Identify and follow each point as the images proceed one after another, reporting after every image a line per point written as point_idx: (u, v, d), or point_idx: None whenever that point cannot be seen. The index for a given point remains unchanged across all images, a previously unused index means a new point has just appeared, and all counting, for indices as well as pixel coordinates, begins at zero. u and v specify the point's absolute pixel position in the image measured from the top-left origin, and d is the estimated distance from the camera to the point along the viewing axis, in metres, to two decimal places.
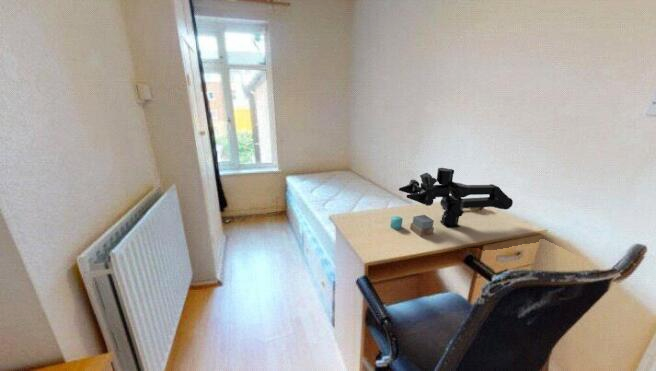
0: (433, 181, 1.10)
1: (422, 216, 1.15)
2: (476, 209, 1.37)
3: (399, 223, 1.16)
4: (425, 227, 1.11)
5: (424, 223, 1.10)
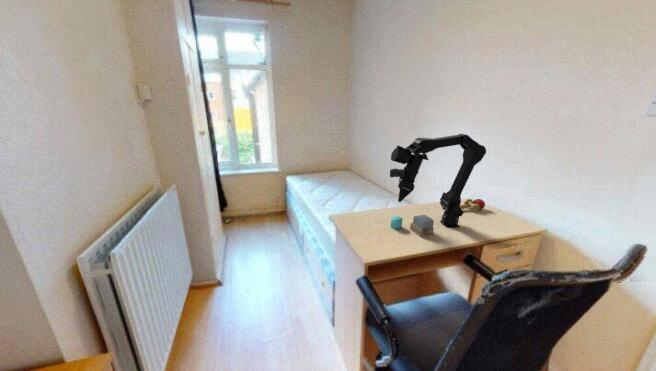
0: (395, 171, 1.09)
1: (423, 215, 1.15)
2: (476, 209, 1.37)
3: (399, 223, 1.16)
4: (425, 227, 1.11)
5: (424, 222, 1.10)
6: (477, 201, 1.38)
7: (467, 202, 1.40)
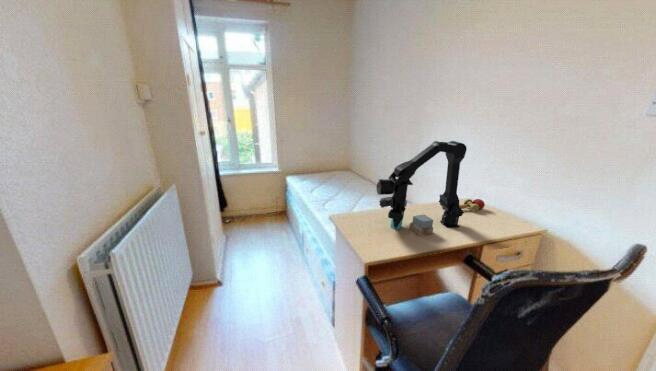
0: (383, 203, 1.13)
1: (422, 215, 1.16)
2: (475, 209, 1.37)
3: (399, 223, 1.16)
4: (425, 226, 1.11)
5: (424, 222, 1.10)
6: (477, 201, 1.38)
7: (467, 202, 1.40)
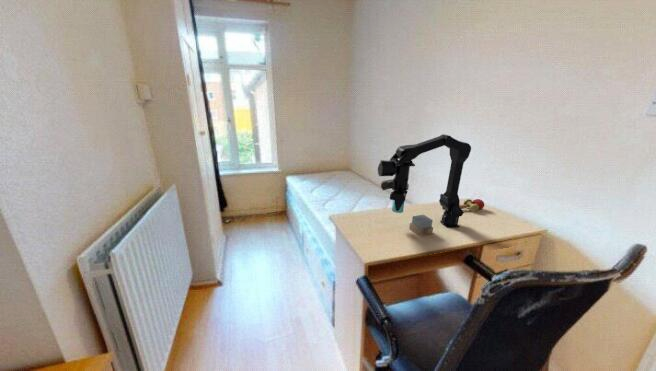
0: (385, 185, 1.10)
1: (421, 215, 1.16)
2: (475, 209, 1.37)
3: (401, 206, 1.13)
4: (424, 227, 1.11)
5: (424, 222, 1.10)
6: (476, 201, 1.38)
7: (466, 202, 1.40)
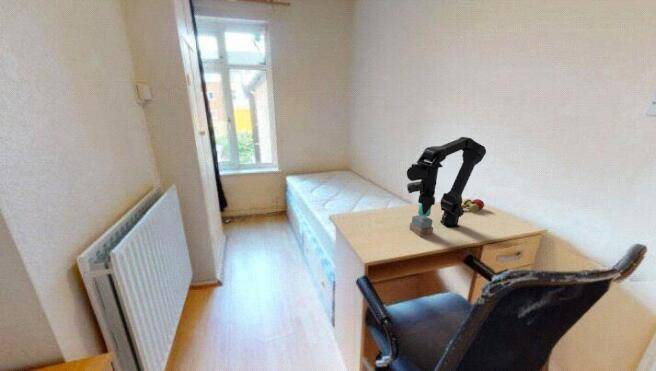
0: (412, 187, 1.06)
1: None
2: (475, 209, 1.37)
3: None
4: (424, 227, 1.11)
5: (423, 222, 1.10)
6: (476, 201, 1.37)
7: (466, 202, 1.40)
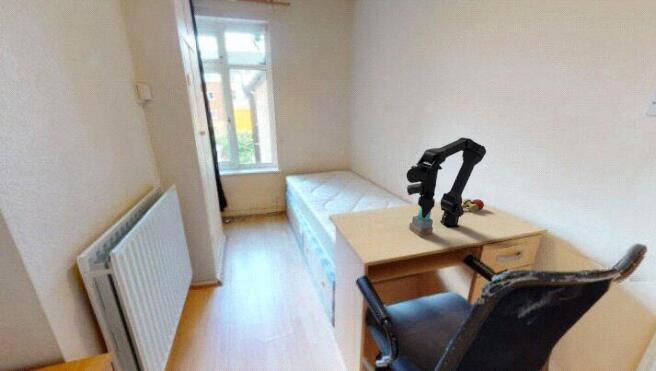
0: (412, 189, 1.07)
1: None
2: (474, 209, 1.36)
3: (428, 214, 1.10)
4: (424, 227, 1.11)
5: (424, 223, 1.10)
6: (476, 201, 1.37)
7: (466, 202, 1.39)
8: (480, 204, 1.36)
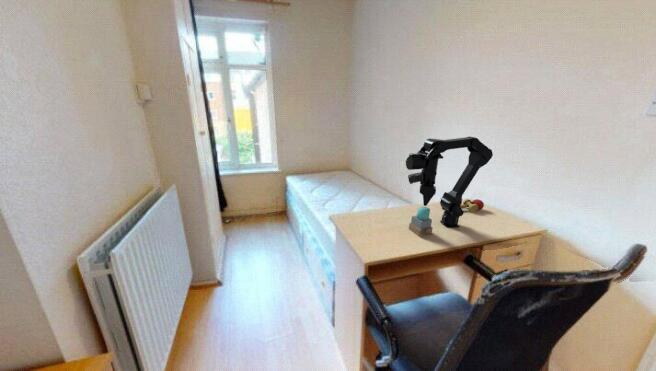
0: (413, 178, 1.09)
1: None
2: (474, 210, 1.36)
3: (427, 214, 1.10)
4: (424, 227, 1.11)
5: (423, 222, 1.10)
6: (476, 201, 1.37)
7: (466, 202, 1.39)
8: (480, 204, 1.36)
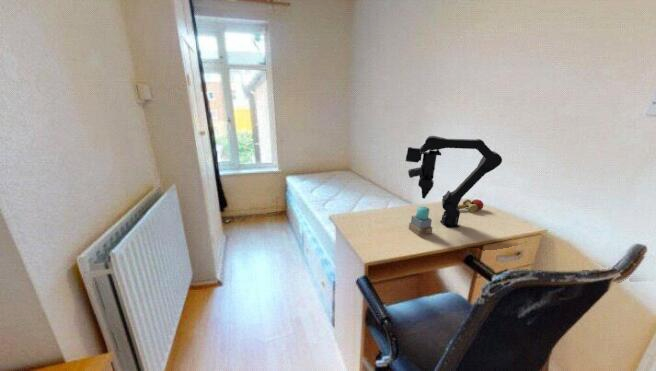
0: (413, 172, 1.17)
1: None
2: (474, 210, 1.36)
3: (426, 213, 1.10)
4: (423, 226, 1.11)
5: (423, 222, 1.10)
6: (475, 201, 1.37)
7: (465, 202, 1.39)
8: (479, 204, 1.36)
